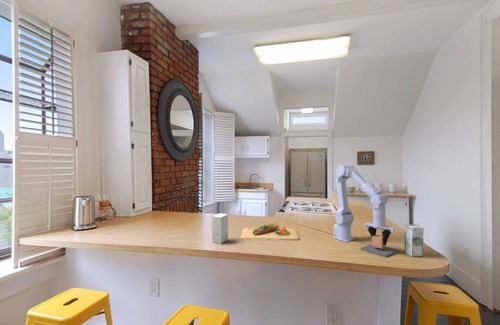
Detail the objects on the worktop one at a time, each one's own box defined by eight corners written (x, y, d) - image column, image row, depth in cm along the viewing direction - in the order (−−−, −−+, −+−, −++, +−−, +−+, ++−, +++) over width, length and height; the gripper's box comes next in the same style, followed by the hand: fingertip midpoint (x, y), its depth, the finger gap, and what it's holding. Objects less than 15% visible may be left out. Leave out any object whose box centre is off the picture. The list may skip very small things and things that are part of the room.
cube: (371, 245, 130) (371, 236, 130) (376, 244, 133) (376, 234, 133) (381, 248, 126) (381, 238, 126) (386, 246, 129) (386, 236, 129)
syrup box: (415, 252, 127) (415, 223, 127) (423, 256, 121) (423, 226, 121) (404, 252, 127) (404, 224, 127) (412, 257, 121) (412, 226, 121)
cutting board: (294, 230, 171) (294, 219, 171) (299, 241, 147) (299, 228, 147) (243, 230, 173) (243, 219, 173) (240, 241, 149) (240, 228, 149)
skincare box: (219, 238, 151) (219, 213, 151) (229, 240, 148) (228, 213, 148) (211, 242, 144) (211, 215, 144) (221, 244, 141) (221, 216, 141)
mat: (360, 249, 131) (360, 248, 131) (373, 245, 139) (373, 243, 139) (386, 257, 121) (386, 255, 121) (398, 251, 128) (398, 249, 128)
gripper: (361, 215, 133) (361, 241, 133) (390, 220, 122) (390, 248, 122) (368, 213, 137) (368, 238, 137) (396, 218, 126) (396, 245, 126)
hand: (379, 243), depth 130 cm, fingers closed on cube, 5 cm apart
